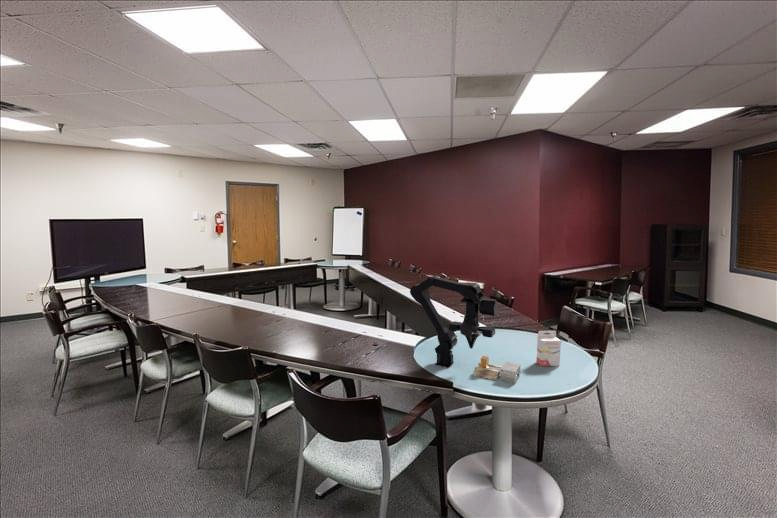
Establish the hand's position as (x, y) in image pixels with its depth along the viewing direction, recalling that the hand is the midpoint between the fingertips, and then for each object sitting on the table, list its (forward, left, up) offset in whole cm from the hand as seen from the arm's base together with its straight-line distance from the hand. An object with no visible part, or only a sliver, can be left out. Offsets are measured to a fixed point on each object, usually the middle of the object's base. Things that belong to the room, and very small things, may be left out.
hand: (471, 348), depth 163 cm
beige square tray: (+7, 0, -10) cm, 12 cm away
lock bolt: (+9, 0, -8) cm, 12 cm away
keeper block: (+17, 0, -10) cm, 19 cm away
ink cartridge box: (+28, +22, -10) cm, 37 cm away
